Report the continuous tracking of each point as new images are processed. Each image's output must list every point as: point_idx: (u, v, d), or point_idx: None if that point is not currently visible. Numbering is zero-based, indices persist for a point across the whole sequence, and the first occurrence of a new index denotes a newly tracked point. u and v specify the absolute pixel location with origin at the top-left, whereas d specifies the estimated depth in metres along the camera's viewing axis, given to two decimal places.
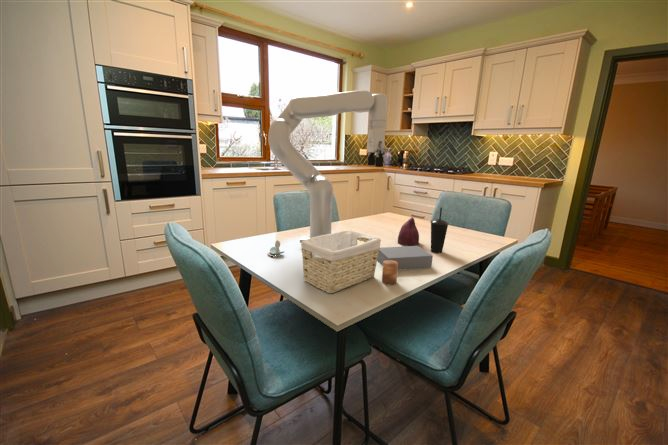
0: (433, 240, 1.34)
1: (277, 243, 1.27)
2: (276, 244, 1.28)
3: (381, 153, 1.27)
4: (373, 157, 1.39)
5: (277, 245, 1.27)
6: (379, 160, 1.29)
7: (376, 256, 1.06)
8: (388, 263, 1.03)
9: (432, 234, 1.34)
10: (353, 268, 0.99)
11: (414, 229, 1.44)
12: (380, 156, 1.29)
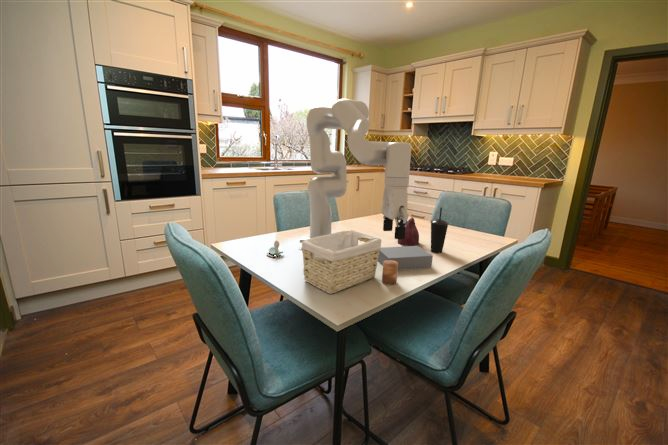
0: (433, 240, 1.34)
1: (276, 243, 1.27)
2: (275, 244, 1.28)
3: (403, 223, 0.93)
4: (390, 221, 1.05)
5: (276, 245, 1.27)
6: (400, 231, 0.95)
7: (377, 256, 1.06)
8: (388, 263, 1.03)
9: (432, 234, 1.34)
10: (354, 268, 0.99)
11: (414, 229, 1.44)
12: (401, 226, 0.94)
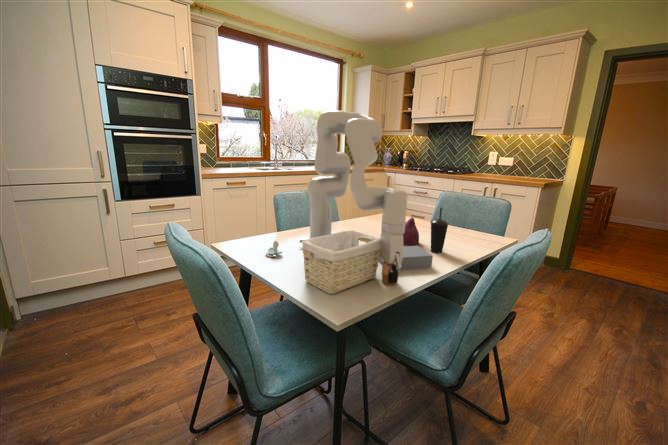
0: (433, 240, 1.34)
1: (275, 243, 1.27)
2: (274, 244, 1.27)
3: (396, 269, 0.99)
4: None
5: (275, 245, 1.27)
6: (393, 276, 1.01)
7: (378, 257, 1.06)
8: None
9: (432, 234, 1.34)
10: (354, 269, 0.99)
11: (414, 229, 1.44)
12: (394, 272, 1.00)
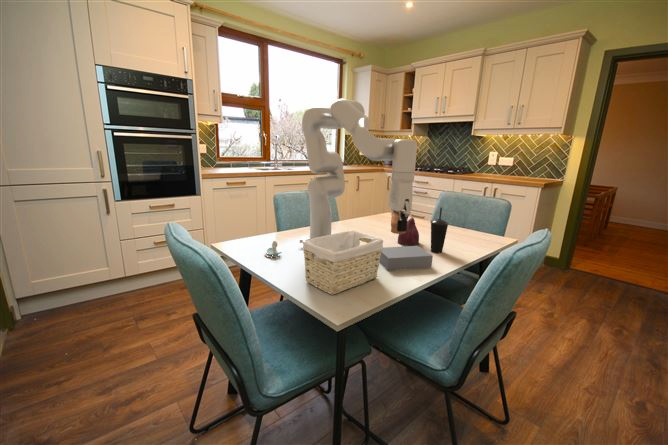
0: (433, 240, 1.34)
1: (274, 244, 1.26)
2: (273, 245, 1.27)
3: (405, 217, 1.02)
4: None
5: (274, 246, 1.26)
6: (402, 224, 1.04)
7: (379, 257, 1.06)
8: (397, 213, 1.06)
9: (432, 234, 1.34)
10: (355, 269, 0.99)
11: (414, 229, 1.44)
12: (403, 220, 1.03)
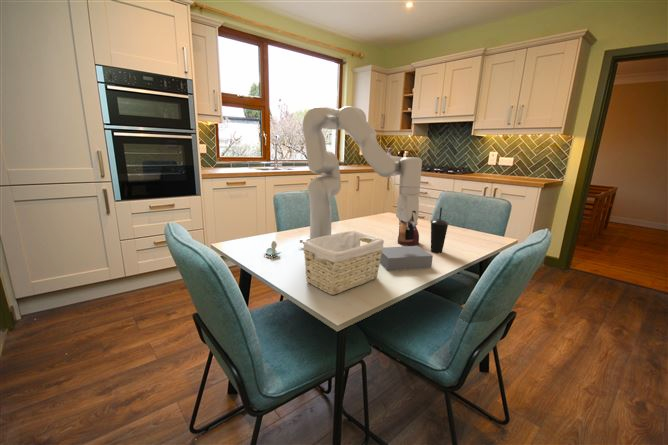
0: (433, 240, 1.34)
1: (273, 244, 1.26)
2: (272, 245, 1.27)
3: (412, 227, 1.13)
4: None
5: (273, 246, 1.26)
6: (410, 233, 1.15)
7: (379, 257, 1.05)
8: (405, 222, 1.17)
9: (432, 234, 1.34)
10: (356, 269, 0.98)
11: None
12: (411, 229, 1.15)
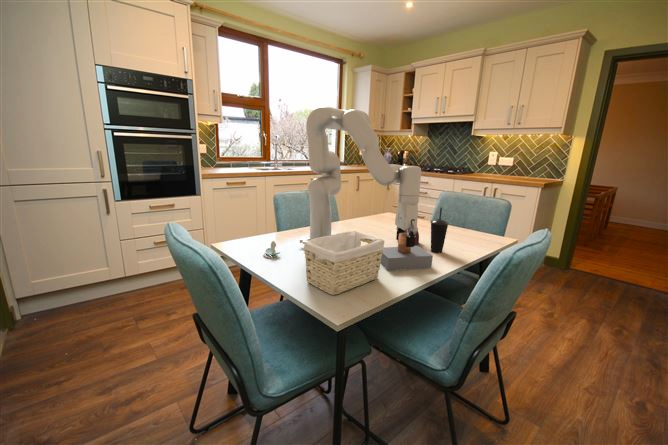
0: (433, 240, 1.34)
1: (273, 244, 1.26)
2: (272, 245, 1.27)
3: (413, 234, 1.12)
4: (402, 231, 1.23)
5: (272, 246, 1.26)
6: (410, 240, 1.14)
7: (380, 257, 1.05)
8: (403, 234, 1.19)
9: (432, 234, 1.34)
10: (356, 270, 0.98)
11: None
12: (412, 236, 1.14)
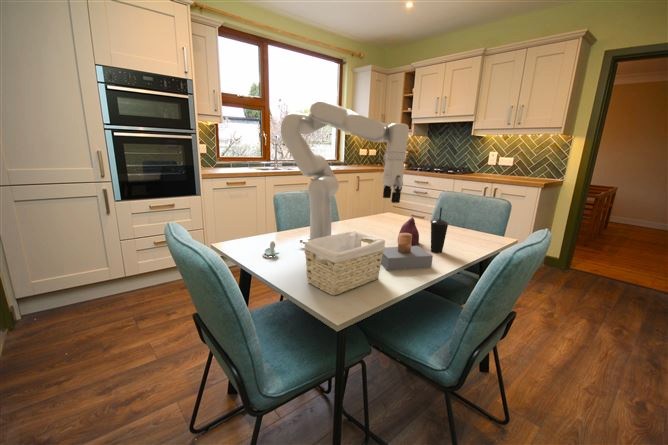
0: (433, 240, 1.34)
1: (272, 244, 1.26)
2: (271, 245, 1.26)
3: (398, 189, 1.15)
4: (389, 189, 1.27)
5: (272, 246, 1.26)
6: (396, 196, 1.17)
7: (380, 258, 1.05)
8: (403, 235, 1.19)
9: (432, 234, 1.34)
10: (357, 270, 0.98)
11: (414, 229, 1.44)
12: (397, 192, 1.17)
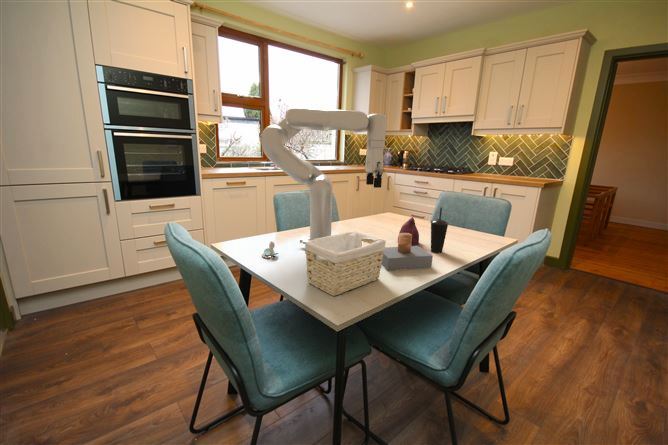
0: (433, 240, 1.34)
1: (271, 244, 1.26)
2: (270, 245, 1.26)
3: (379, 174, 1.24)
4: (372, 176, 1.36)
5: (271, 246, 1.26)
6: (377, 181, 1.27)
7: (381, 258, 1.05)
8: (403, 234, 1.19)
9: (432, 234, 1.34)
10: (357, 270, 0.98)
11: (414, 229, 1.44)
12: (378, 177, 1.26)
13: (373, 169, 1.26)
